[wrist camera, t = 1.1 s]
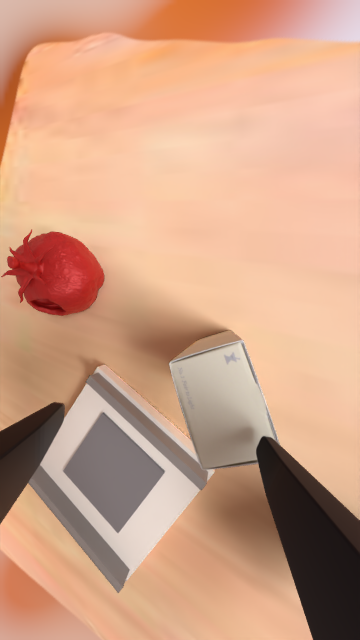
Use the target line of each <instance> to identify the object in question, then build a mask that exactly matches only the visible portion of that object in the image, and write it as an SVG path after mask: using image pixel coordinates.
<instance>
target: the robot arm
mask: <svg viewBox="0 0 360 640" xmlns="http://www.w3.org/2000/svg"><path fill="white" fill-rule="evenodd" d="M64 410H65V405H64V404H63V403H57V402H54V403H51V404H50V405H48V406H46V407H44V408H42V409H40V410H39V411H37V412H35V413H33V414H31V415H29V416H28V417H26V418H24V419H22V420H20V421H18V422H17V423H15V424H13V425H11V426H9V427H7V428H6V429H4V430H2V431H0V524H1V522H2V521H3V519H4V518H5V516H6V515H7V513H8V512H9V510H10V509H11V507H12V506H13V504H14V503H15V501H16V500H17V498H18V497H19V495H20V494H21V492H22V491H23V489H24V488H25V486H26V485H27V483H28V482H29V480H30V479H31V477H32V476H33V474H34V473H35V471H36V470H37V468H38V467H39V465H40V463H41V462H42V460H43V458H44V456H45V455H46V453H47V451H48V449H49V447H50V446H51V444H52V442H53V440H54V438H55V436H56V435H57V433H58V431H59V429H60V427H61V426H62V423H63V421H64ZM256 456H257V460H258V464H259V468H260V472H261V477H262V481H263V485H264V489H265V493H266V496H267V499H268V503H269V506H270V509H271V512H272V515H273V518H274V521H275V524H276V527H277V530H278V533H279V537H280V540H281V543H282V546H283V549H284V552H285V555H286V558H287V561H288V564H289V567H290V570H291V573H292V576H293V579H294V583H295V586H296V589H297V592H298V595H299V598H300V601H301V604H302V607H303V610H304V613H305V616H306V619H307V622H308V626H309V629H310V632H311V635H312V638H313V640H360V520H359V519H358V518H356V517H355V516H354V515H353V514H352V513H351V512H350V511H349V510H348V509H347V508H346V507H345V506H344V505H343V504H342V503H341V502H340V501H339V500H337V499H336V498H335V497H334V496H333V495H332V494H331V493H330V492H329V491H328V490H327V489H326V488H325V487H324V486H323V485H322V484H321V483H319V482H318V481H317V480H316V479H315V478H314V477H313V476H312V475H311V474H310V473H309V472H308V471H307V470H306V469H305V468H304V467H303V466H301V465H300V464H299V463H298V462H297V461H296V460H295V459H294V458H293V457H292V456H291V455H290V454H289V453H288V452H287V451H286V450H285V449H283V448H282V447H281V446H280V445H279V444H278V443H277V442H276V441H275V440H274V439H273V438H271V437H267V436H262V437H261V439H260V441H259V443H258V446H257V448H256Z"/></svg>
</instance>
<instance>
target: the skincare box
mask: <svg viewBox="0 0 360 640" xmlns="http://www.w3.org/2000/svg"><path fill="white" fill-rule="evenodd" d="M169 366H170V370H171V374H172V378H173V382H174V385H175V389H176V392H177V396H178V399H179V402H180V406H181V409H182V412H183V415H184V418H185V422H186V425H187V428H188V431H189V434H190V437H191V440H192V443H193V446H194V450H195V452H196V456H197V459H198V461H199V464H200V467H201V469H202V470H212V469H219V468H228V467H237V466H244V465H252V464H258V460H257V456H256V448H257V446H258V443H259V441H260V439H261V437H262V436H267V437H271V438H273V439H274V440H275V441H276V442H277V443H278V444H279V445H280V443H279V440H278V437H277V434H276V431H275V428H274V424H273V421H272V418H271V415H270V412H269V409H268V406H267V403H266V400H265V397H264V395H263V392H262V389H261V386H260V384H259V381H258V378H257V375H256V372H255V370H254V367H253V364H252V362H251V359H250V356H249V354H248V351H247V349H246V346H245V343H244V341H243V340H242V339H241V338H240V337H239V336H237V335H236V334H235V333H234V332H232V331H231V330H229V331H225V332H222V333H218V334H215V335H211V336H208V337H205V338H202V339H199V340H197V341H196V342H194V343H193V344H192V345H190V346H189V347H188V348H186V349H185V350H184V351H183V352H181V353H180V354H179V355H178V356H176V357H175V358H174V359H173V360H171V361H170V363H169Z"/></svg>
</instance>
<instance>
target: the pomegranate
mask: <svg viewBox="0 0 360 640" xmlns="http://www.w3.org/2000/svg"><path fill="white" fill-rule="evenodd" d="M31 233H32V229H31V232H30V233H29V235H27V236H26V237H25V238H24V240H23V244H24V245H22V246H20V247H19V248H18V249H17V250H16V251H13V250H12V249H11V248H10V247H9V248H10V252H11V253H12V254H13V255H14V257H11V256H9V257H8V258H7V262H8V266H9V267H10V268H12V270H9V271H7V272H6V273H4V275H3V276H5V275H16V278H17V282H18V284H19V285H20V286H21V288H20V289H19V291H18V294H19V296H20V298H21V301H20V303H21V302H22V301H23V293H24V296H25V299H26V300H27V302H28V304H30V305H31V306H32V307H33V308H35V309H36V310H38V311H41V312H44V313H48V314H52V315H61V316H63V315H68V314H72V313H77V312H81V311H84V310H86V309H87V308H89V307H90V305H92V303H93V302H94V301H95V300H96V298H97V293H98V289H99V288H100V287H101V286H102V285H103V282H104V273H103V270H102V268H101V266H100V264H99V263H98V261H97V260H96V258H95V256H94V255H93V254H92V253H91V252H90V251H89V250H88V248H87V247H86V246H85V245H84V244H83V243H82V242H80V241H79V240H77V239H75V238H73V237H71V236H69V235H66V234H62V233H59V232H50V233H48V234H41V235H39V236H36V237H34V238H32V239H31V240H30V241H29V242H28V239H29V237H30V235H31ZM27 242H28V243H27ZM3 276H1V277H3Z"/></svg>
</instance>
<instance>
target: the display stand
mask: <svg viewBox="0 0 360 640" xmlns="http://www.w3.org/2000/svg"><path fill="white" fill-rule="evenodd" d="M86 383H87V384H86V385H85V387H84V388H83V390H82V392H81V393H80V395H79V396H78V398H77V399H76V401H75V402H74V404H73V406H72V407H71V409H70V410H69V412H68V413H67V415H66V416H65V418H64V421H63V423H62V426H61V427H60V429H59V431H58V433H57V435H56V436H55V438H54V440H53V442H52V444H51V446H50V447H49V449H48V451H47V453H46V455H45V456H44V458H43V460H42V462H41V463H40V465H39V467H38V468H37V470H36V471H35V473H34V474H33V476H32V477H31V479H30V480H29V482H28V483H29V484H30V485H31V487H32V488H33V489H34V490H35V492H36V493H37V494H38V495H39V497H40V498H41V499H42V500H43V501H44V503H45V504H46V505H47V506H48V508H49V509H50V510H51V511H52V512H53V514H54V515H55V516H56V517H57V519H58V520H59V521H60V522H61V523H62V525H63V526H64V527H65V528H66V530H67V531H68V532H69V533H70V535H71V536H72V537H73V538H74V539H75V541H76V542H77V543H78V544H79V546H80V547H81V548H82V549H83V550H84V552H85V553H86V554H87V555H88V557H89V558H90V559H91V560H92V561H93V563H94V564H95V565H96V566H97V568H98V569H99V570H100V571H101V573H102V574H103V575H104V576H105V577H106V579H107V580H108V581H109V582H110V584H111V585H112V586H113V587H114V588H115V590H116V591H117V592H118V593H119V591H120V590H121V589H122V588H123V586H124V583H125V581H127V580H128V579H129V577H130V576H131V575H132V574H133V572H134V571H135V570H136V569H137V568H138V566H139V565H140V564H141V563H142V561H143V560H144V559H145V558H146V556H147V555H148V554H149V553H150V551H151V550H152V549H153V548H154V546H155V545H156V544H157V543H158V542H159V540H160V539H161V538H162V537H163V535H164V534H165V533H166V532H167V530H168V529H169V528H170V527H171V525H172V524H173V523H174V522H175V521H176V519H177V518H178V517H179V516H180V514H181V513H182V512H183V511H184V509H185V508H186V507H187V506H188V504H189V503H190V502H191V501H192V499H193V498H194V497H195V496H196V495H197V493H198V492H199V491H200V490H202V489H203V488H204V487H205V485H206V484H207V481H208V480H209V478H210V477H211V476H212V475H213V474H214V472H215V469H212V470H202V469H201V467H200V464H199V461H198V459H197V456H196V452H195V450H194V446H193V443H192V441H191V440H190V439H189V438H188V437H187V436H186V435H184V434H183V433H182V432H181V431H180V430H179V429H178V428H177V427H175V426H174V425H173V424H172V423H171V422H170V421H169V420H167V419H166V418H165V417H164V416H163V415H162V414H161V413H160V412H158V411H157V410H156V409H155V408H154V407H153V406H152V405H150V404H149V403H148V402H147V401H146V400H145V399H144V398H143V397H141V396H140V395H139V394H138V393H137V392H136V391H135V390H133V389H132V388H131V387H130V386H129V385H128V384H127V383H126V382H124V381H123V380H122V379H121V378H120V377H119V376H118V375H116V374H115V373H114V372H113V371H112V370H111V369H110V368H109V367H107V366H106V365H105V364H104V365H101V366H98V367H97V368H96V370H95V371H94V373H93V375H90V376H89V378H88V379H87V381H86Z"/></svg>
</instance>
